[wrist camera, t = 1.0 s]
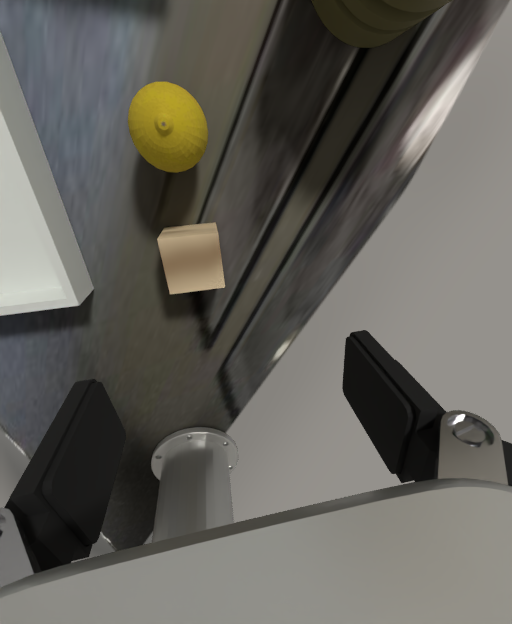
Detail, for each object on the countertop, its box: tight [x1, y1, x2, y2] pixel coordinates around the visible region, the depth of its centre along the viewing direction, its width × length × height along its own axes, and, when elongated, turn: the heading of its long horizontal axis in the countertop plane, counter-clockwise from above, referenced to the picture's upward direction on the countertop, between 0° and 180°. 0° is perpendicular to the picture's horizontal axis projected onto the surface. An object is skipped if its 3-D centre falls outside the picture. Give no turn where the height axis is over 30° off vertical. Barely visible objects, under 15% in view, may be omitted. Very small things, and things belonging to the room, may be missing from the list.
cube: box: [157, 222, 225, 294], centre depth 27 cm, size 5×5×5 cm
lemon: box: [128, 82, 208, 172], centre depth 21 cm, size 6×6×8 cm
